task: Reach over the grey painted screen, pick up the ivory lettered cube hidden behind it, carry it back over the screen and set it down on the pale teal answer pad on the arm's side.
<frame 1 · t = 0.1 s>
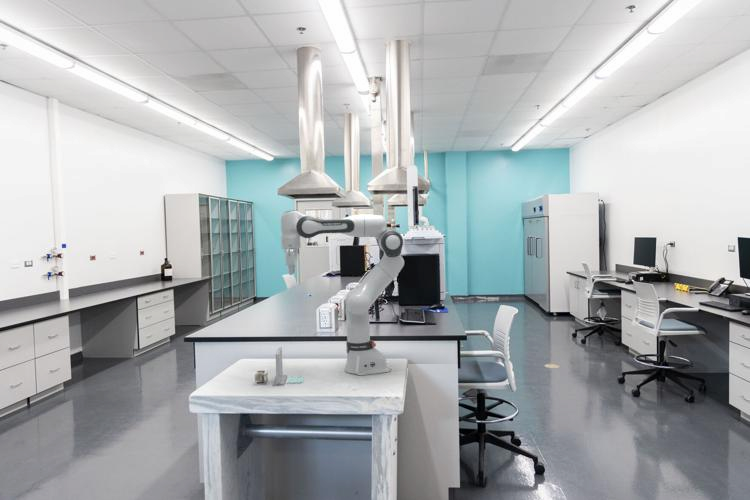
hand: (292, 273, 216), 48 cm above the table, fingers open, 8 cm apart
answer pad: (295, 380, 206), on the table
screen: (279, 381, 206), on the table
letter cube: (261, 383, 204), on the table
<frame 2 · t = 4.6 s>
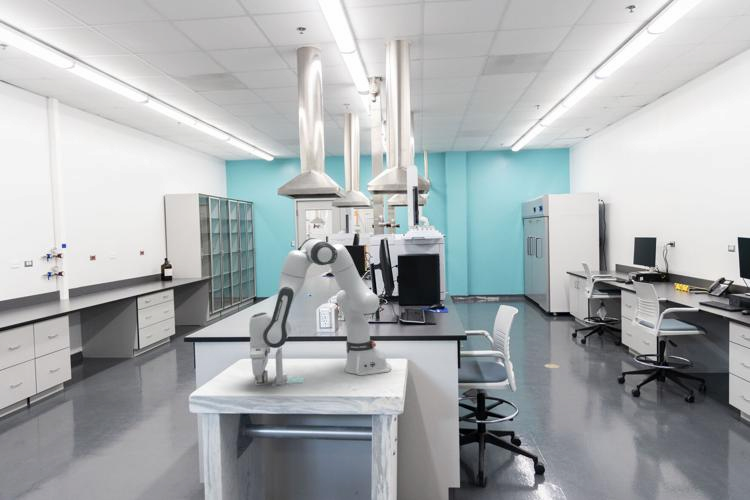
hand: (261, 379, 204), 2 cm above the table, fingers closed on letter cube, 5 cm apart
letter cube: (261, 383, 204), on the table, touching gripper
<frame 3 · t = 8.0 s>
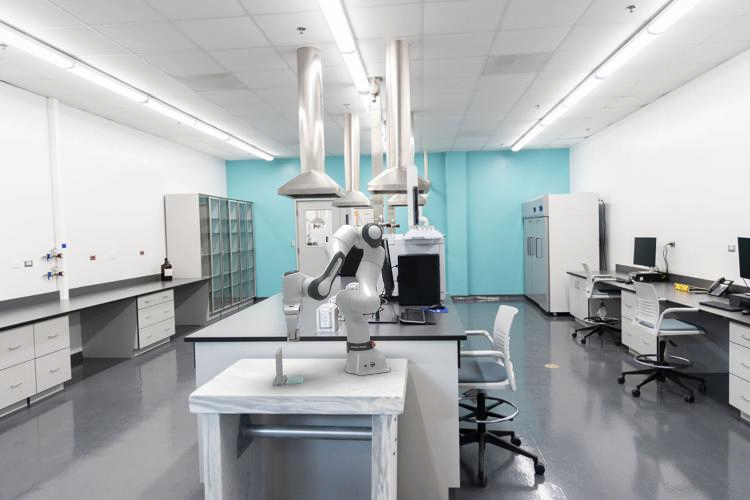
hand: (293, 337, 205), 20 cm above the table, fingers closed on letter cube, 5 cm apart
letter cube: (293, 340, 205), point 18 cm above the table, touching gripper
when the fingers open (3 cm above the table, at t = 11.3 s): letter cube stays where it is, resting on answer pad.
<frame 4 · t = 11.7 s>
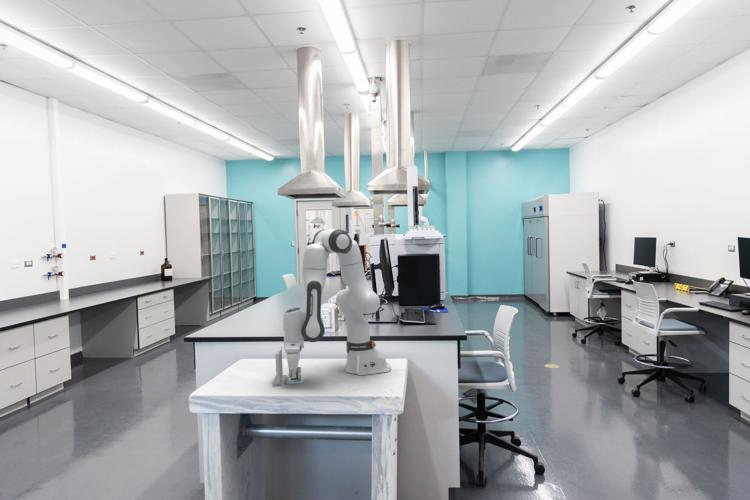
hand: (295, 374, 206), 3 cm above the table, fingers open, 8 cm apart
letter cube: (295, 379, 206), point 1 cm above the table, touching answer pad
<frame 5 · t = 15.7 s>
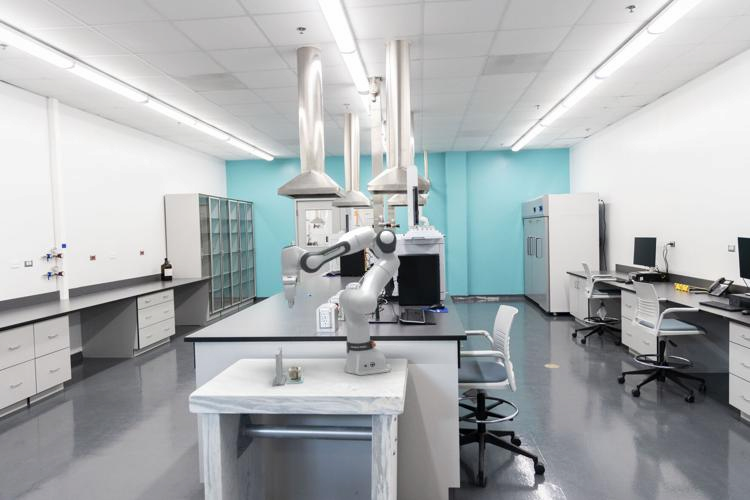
hand: (291, 306, 222), 31 cm above the table, fingers open, 8 cm apart
nothing on the table moved.
at the end: letter cube inside the target area on the answer pad (0.0 cm from its centre), point 0.6 cm above the answer pad's base; letter cube tilted 0°; the gripper is holding nothing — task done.
